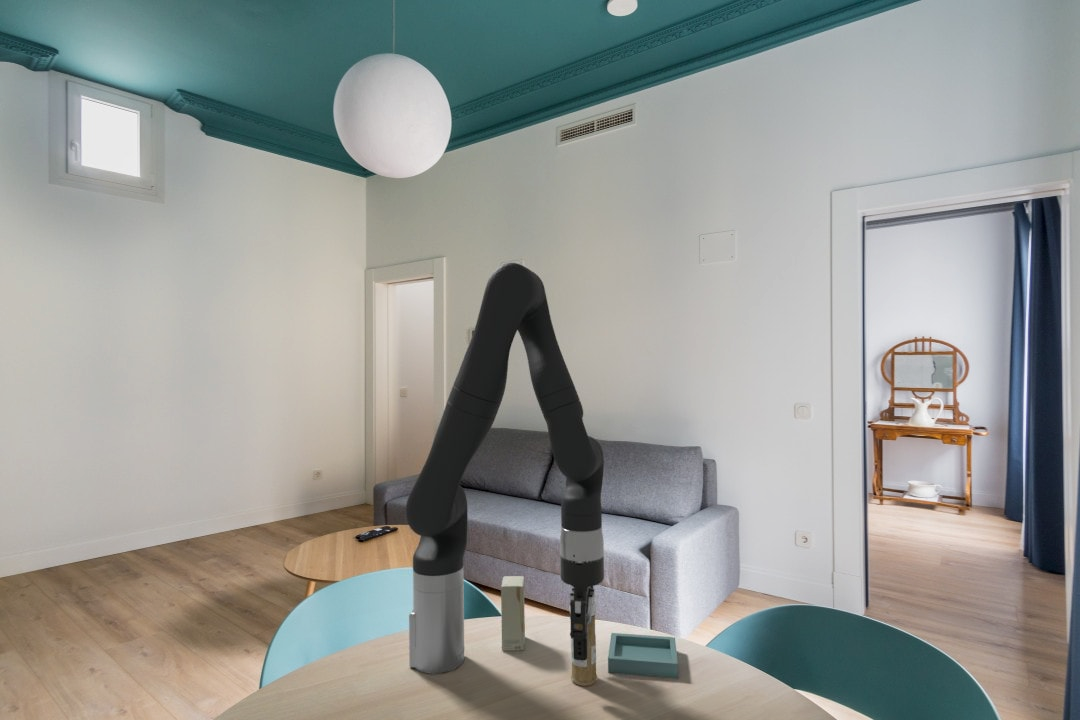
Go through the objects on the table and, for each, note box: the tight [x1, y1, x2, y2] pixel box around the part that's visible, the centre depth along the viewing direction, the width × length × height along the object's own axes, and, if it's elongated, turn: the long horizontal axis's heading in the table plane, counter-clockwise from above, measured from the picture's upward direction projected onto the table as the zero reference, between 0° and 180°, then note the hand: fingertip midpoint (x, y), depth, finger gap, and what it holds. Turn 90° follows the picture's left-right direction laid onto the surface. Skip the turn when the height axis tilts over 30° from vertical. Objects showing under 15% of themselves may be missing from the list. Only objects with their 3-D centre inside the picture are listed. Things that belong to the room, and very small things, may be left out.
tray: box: [607, 632, 679, 679], centre depth 105 cm, size 12×10×2 cm
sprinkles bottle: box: [570, 600, 598, 687], centre depth 99 cm, size 5×5×14 cm
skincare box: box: [500, 575, 526, 651], centre depth 113 cm, size 6×4×12 cm
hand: (583, 646), depth 99 cm, fingers open, 8 cm apart
